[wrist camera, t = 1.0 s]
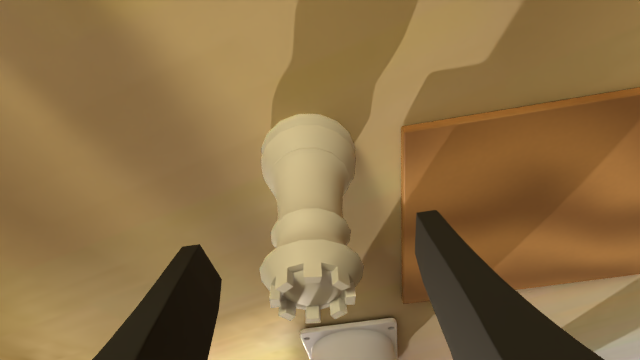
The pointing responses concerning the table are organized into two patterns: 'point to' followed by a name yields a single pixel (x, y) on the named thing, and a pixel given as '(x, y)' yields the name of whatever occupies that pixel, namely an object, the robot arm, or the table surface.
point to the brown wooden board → (530, 189)
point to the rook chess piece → (310, 217)
